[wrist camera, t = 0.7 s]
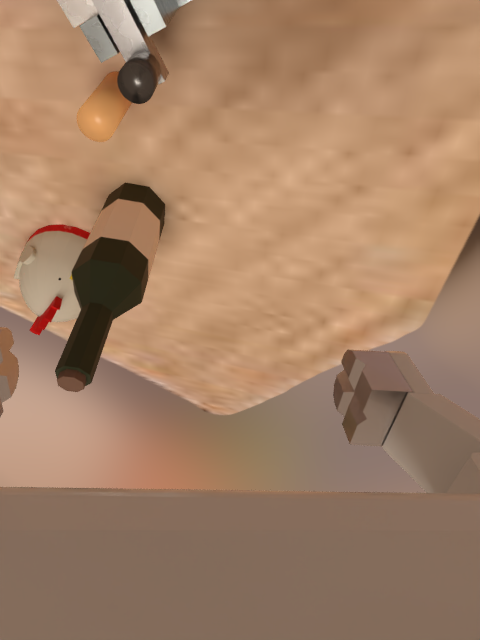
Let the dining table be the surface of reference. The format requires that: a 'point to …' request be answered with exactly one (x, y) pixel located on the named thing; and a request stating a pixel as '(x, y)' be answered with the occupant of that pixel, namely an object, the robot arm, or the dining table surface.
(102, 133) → the orange rounded cylinder
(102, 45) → the mount
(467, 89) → the dining table surface
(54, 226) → the kitchen timer
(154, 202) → the wine bottle
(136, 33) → the crank handle
